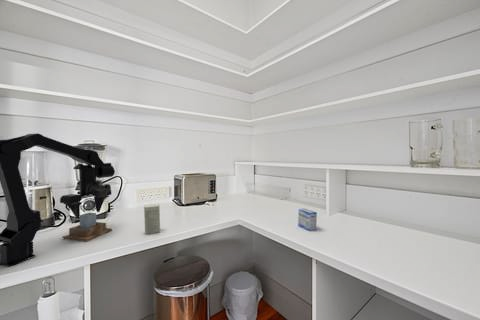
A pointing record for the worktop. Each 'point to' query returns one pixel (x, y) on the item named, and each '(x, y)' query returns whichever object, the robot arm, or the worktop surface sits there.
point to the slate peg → (87, 220)
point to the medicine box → (307, 219)
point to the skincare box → (152, 218)
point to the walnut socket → (87, 232)
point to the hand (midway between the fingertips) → (88, 214)
